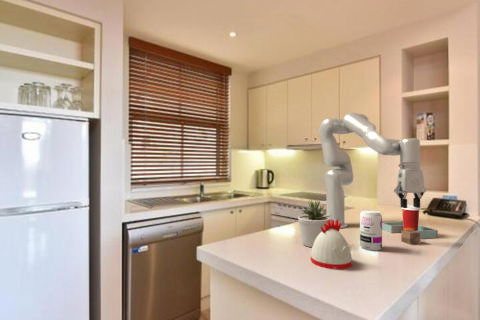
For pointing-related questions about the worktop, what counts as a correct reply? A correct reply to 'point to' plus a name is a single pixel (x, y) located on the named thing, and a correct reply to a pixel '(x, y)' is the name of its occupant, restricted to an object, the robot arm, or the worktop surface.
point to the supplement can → (370, 230)
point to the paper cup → (410, 218)
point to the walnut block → (410, 237)
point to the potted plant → (312, 223)
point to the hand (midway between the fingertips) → (410, 207)
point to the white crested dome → (331, 248)
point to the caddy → (398, 226)
